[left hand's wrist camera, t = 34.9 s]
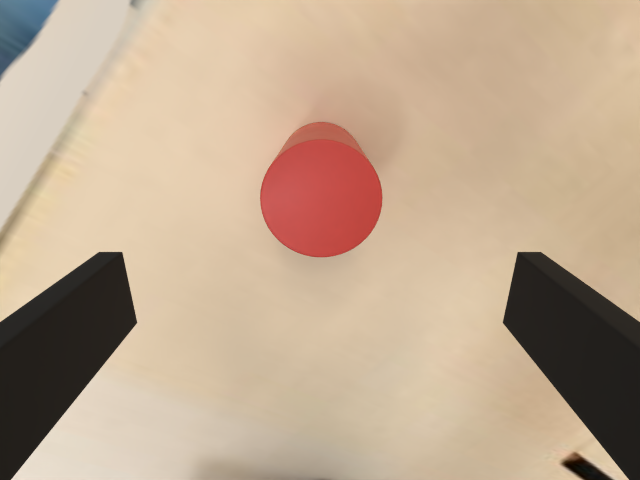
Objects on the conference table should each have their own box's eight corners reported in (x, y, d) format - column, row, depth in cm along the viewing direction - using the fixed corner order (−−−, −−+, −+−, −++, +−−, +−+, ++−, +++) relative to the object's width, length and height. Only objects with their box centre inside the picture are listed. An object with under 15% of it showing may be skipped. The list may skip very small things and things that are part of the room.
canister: (363, 201, 33) (383, 254, 22) (285, 206, 33) (268, 261, 23) (360, 119, 30) (381, 134, 20) (276, 125, 31) (251, 144, 20)
